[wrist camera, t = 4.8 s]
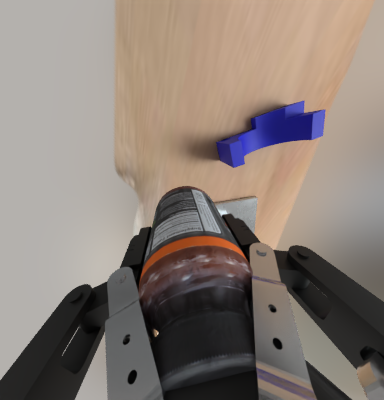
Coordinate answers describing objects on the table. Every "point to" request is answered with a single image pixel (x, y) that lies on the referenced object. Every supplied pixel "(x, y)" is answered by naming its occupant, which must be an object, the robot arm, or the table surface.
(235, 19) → the table surface
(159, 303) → the supplement bottle
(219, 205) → the duct panel
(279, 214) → the table surface
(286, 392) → the robot arm
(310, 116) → the blue notched bracket
